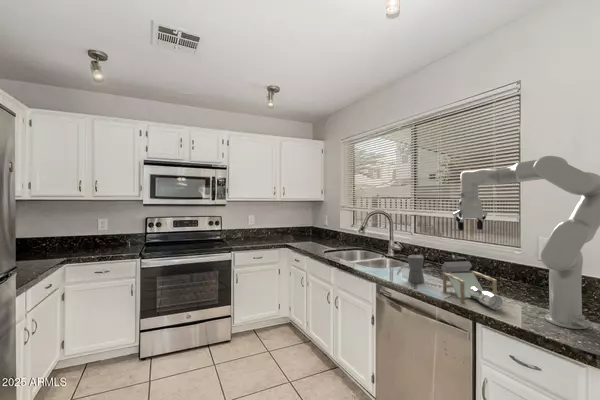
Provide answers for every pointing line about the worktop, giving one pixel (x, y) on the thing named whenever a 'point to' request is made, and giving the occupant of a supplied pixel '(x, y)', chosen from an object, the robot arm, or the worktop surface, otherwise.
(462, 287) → the trapdoor stand
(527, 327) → the worktop surface
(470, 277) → the trapdoor
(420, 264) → the coffeepot
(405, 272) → the worktop surface
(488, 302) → the beer glass
